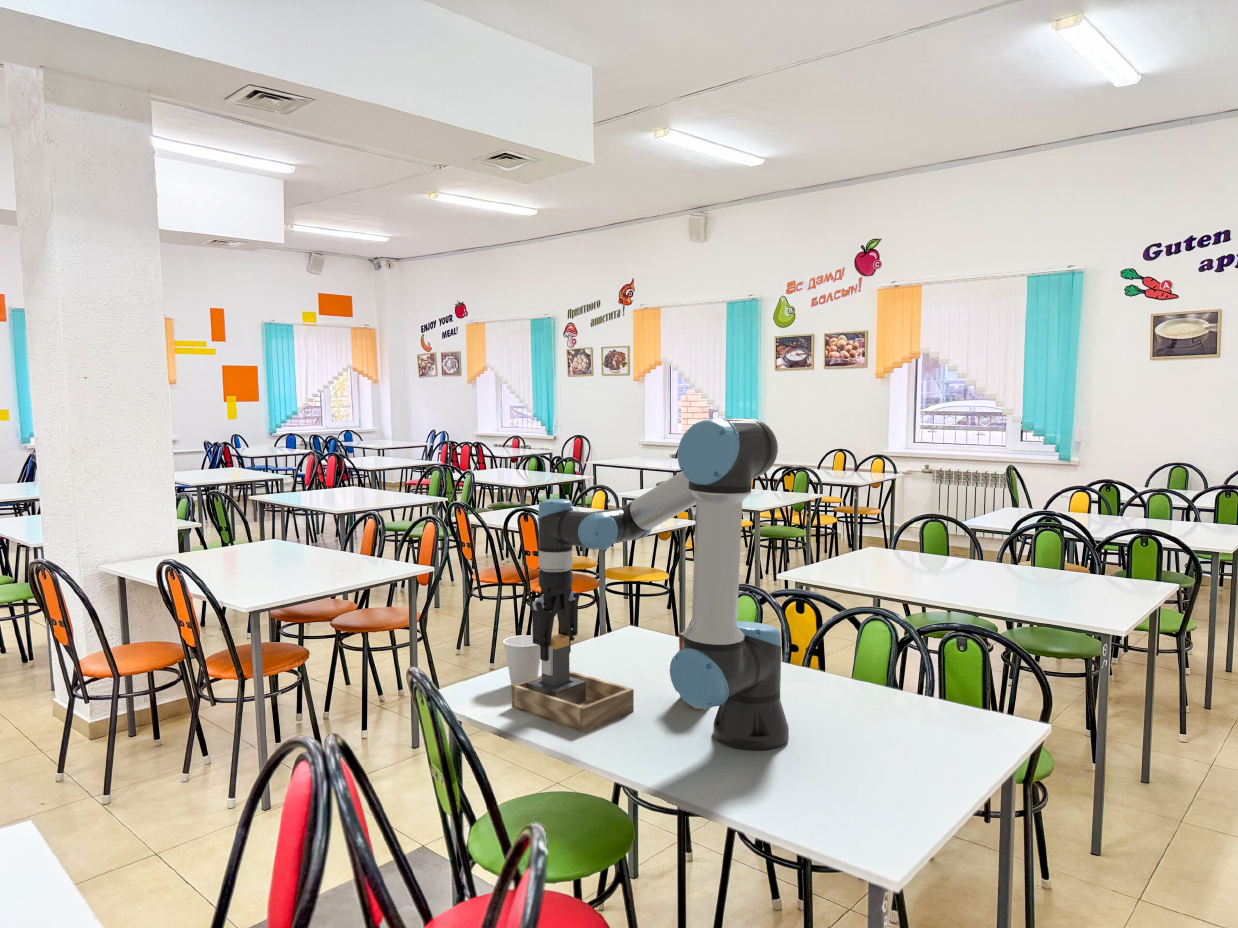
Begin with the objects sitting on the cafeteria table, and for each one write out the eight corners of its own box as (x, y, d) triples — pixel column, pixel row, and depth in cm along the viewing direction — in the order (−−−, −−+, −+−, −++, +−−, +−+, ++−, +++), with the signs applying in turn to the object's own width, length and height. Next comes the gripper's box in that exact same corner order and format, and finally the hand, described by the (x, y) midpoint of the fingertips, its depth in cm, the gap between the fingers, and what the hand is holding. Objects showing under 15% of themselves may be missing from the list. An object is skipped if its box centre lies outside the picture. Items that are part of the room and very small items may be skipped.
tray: (633, 711, 187) (633, 688, 186) (583, 732, 175) (583, 708, 174) (562, 689, 201) (562, 668, 201) (511, 707, 189) (511, 685, 189)
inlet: (585, 700, 191) (585, 681, 191) (556, 712, 184) (556, 691, 184) (556, 691, 198) (556, 672, 197) (526, 702, 191) (526, 682, 190)
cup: (542, 692, 199) (542, 646, 198) (500, 692, 199) (499, 646, 198) (546, 678, 209) (546, 634, 208) (506, 678, 209) (506, 634, 208)
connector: (569, 688, 191) (569, 636, 190) (555, 693, 188) (555, 640, 187) (555, 684, 194) (555, 632, 193) (541, 689, 191) (541, 636, 190)
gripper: (570, 561, 198) (570, 658, 200) (514, 572, 185) (515, 676, 186) (594, 565, 193) (594, 665, 195) (538, 576, 180) (539, 684, 182)
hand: (555, 670), depth 191 cm, fingers closed on connector, 4 cm apart
